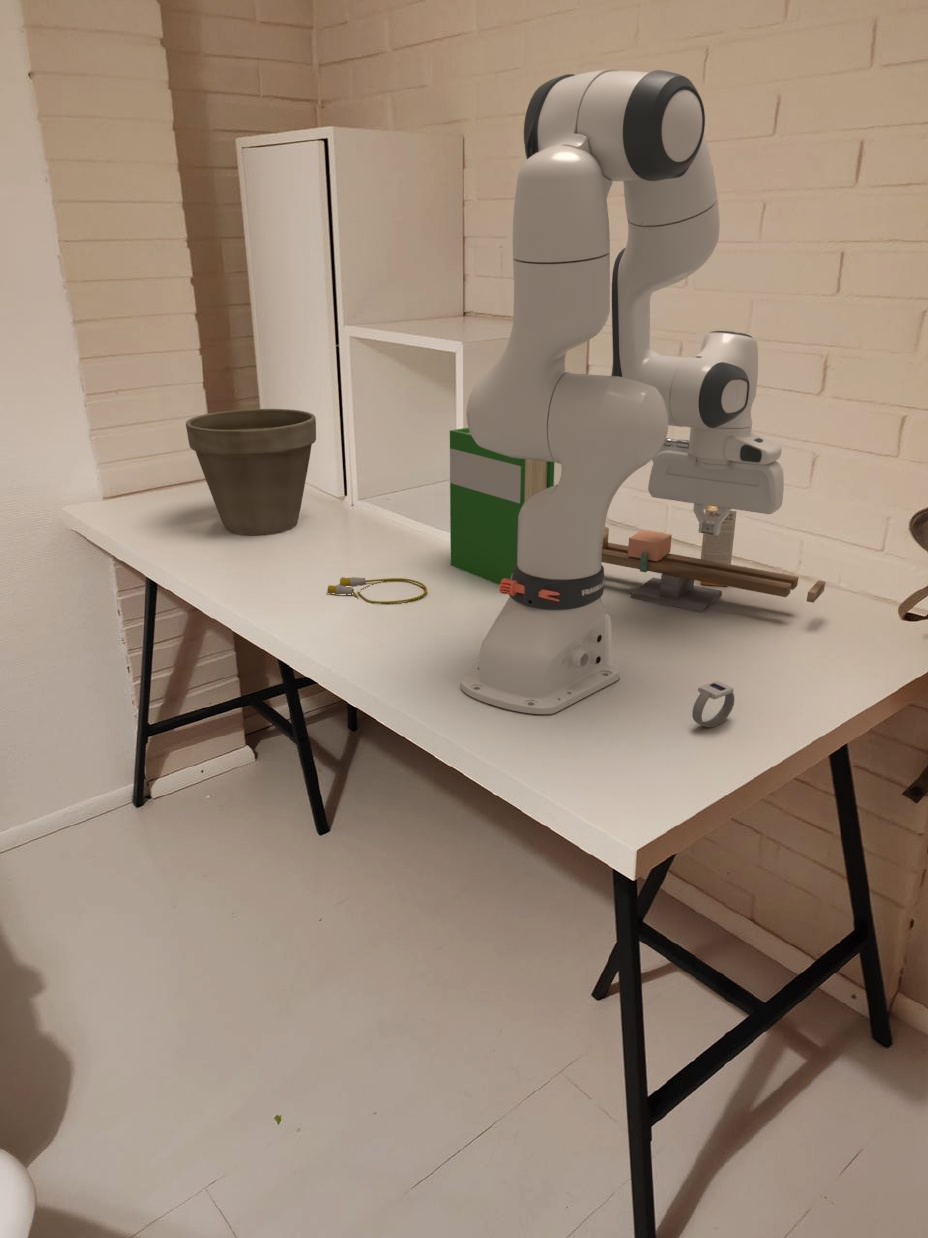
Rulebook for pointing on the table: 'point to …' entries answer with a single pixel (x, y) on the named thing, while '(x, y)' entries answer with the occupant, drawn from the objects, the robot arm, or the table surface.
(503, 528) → the hardback book
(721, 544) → the supplement box
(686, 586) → the balance scale
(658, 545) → the block
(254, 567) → the table surface
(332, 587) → the extension cord
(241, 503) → the plant pot
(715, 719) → the wristwatch
